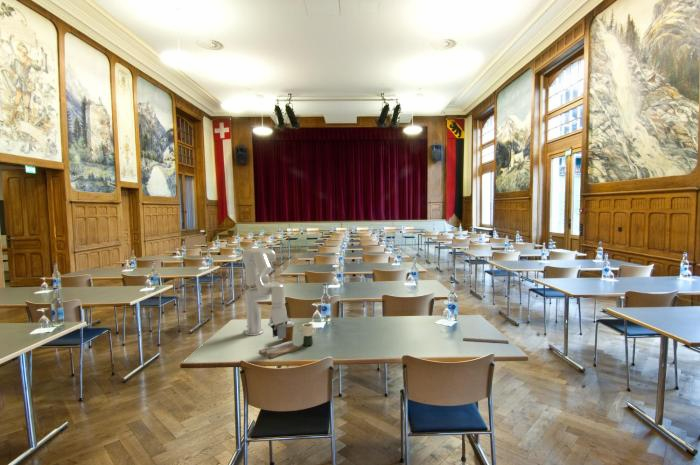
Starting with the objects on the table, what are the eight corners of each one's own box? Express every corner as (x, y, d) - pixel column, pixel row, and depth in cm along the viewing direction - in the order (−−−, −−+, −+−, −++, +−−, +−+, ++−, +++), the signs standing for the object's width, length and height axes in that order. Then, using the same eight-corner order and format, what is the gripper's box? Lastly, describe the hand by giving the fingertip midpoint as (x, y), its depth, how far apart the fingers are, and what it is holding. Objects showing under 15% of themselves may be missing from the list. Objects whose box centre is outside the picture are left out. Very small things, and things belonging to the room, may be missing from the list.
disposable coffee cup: (297, 338, 244) (296, 320, 243) (289, 343, 235) (289, 325, 234) (285, 336, 248) (284, 319, 247) (277, 341, 239) (276, 323, 238)
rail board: (259, 352, 221) (259, 347, 221) (286, 343, 235) (286, 338, 235) (271, 358, 211) (271, 353, 211) (299, 349, 225) (299, 344, 225)
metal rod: (463, 340, 236) (463, 337, 236) (507, 342, 230) (507, 339, 230) (463, 341, 234) (463, 338, 234) (508, 344, 228) (508, 340, 228)
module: (272, 336, 223) (272, 324, 223) (279, 334, 226) (279, 322, 226) (279, 339, 218) (278, 326, 217) (286, 337, 221) (285, 324, 221)
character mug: (317, 343, 235) (317, 323, 234) (315, 347, 228) (314, 326, 227) (301, 342, 236) (300, 322, 235) (298, 346, 229) (297, 326, 228)
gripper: (286, 301, 230) (287, 329, 231) (262, 306, 218) (263, 336, 219) (293, 303, 224) (294, 332, 225) (269, 308, 212) (270, 339, 214)
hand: (279, 333), depth 222 cm, fingers closed on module, 5 cm apart
